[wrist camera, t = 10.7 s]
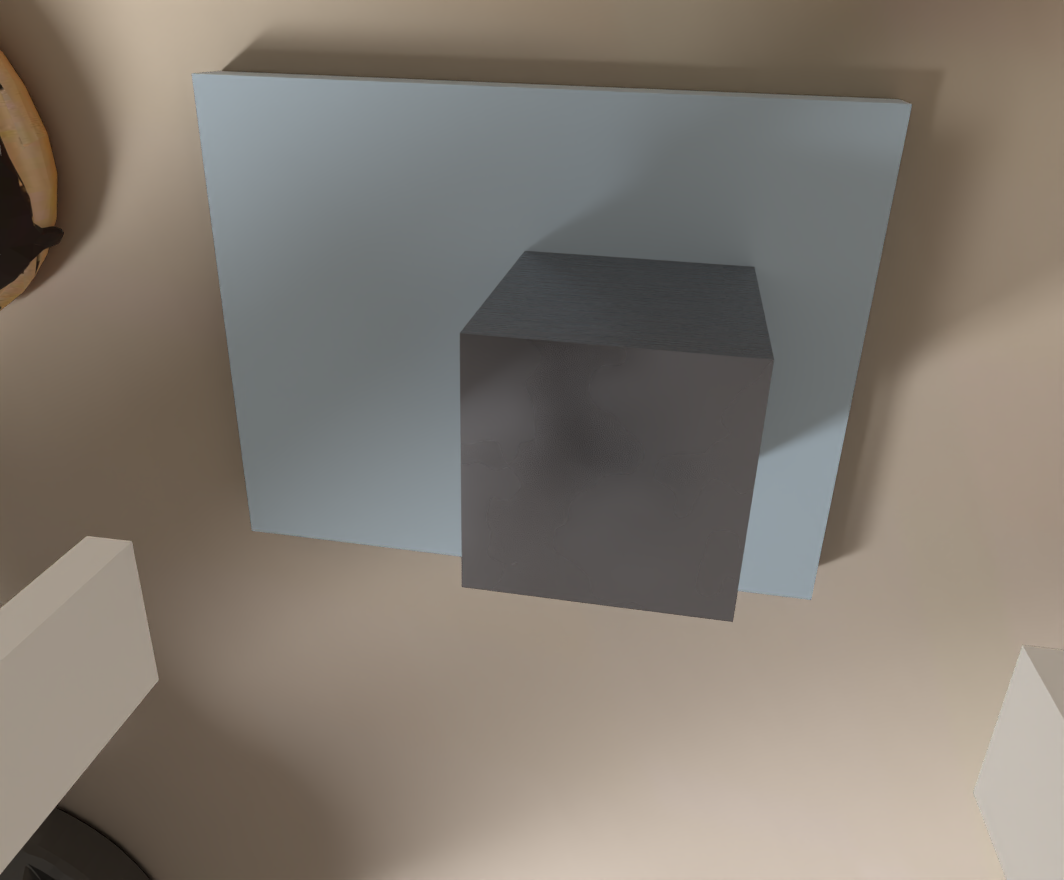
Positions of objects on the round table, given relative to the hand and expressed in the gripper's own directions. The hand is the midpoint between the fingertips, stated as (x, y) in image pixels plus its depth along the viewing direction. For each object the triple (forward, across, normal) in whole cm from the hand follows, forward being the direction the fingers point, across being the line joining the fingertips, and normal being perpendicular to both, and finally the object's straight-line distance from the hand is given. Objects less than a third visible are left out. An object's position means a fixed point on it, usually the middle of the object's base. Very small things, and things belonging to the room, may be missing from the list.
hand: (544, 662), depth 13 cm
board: (+14, -2, 0) cm, 14 cm away
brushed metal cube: (+12, 0, 0) cm, 13 cm away
